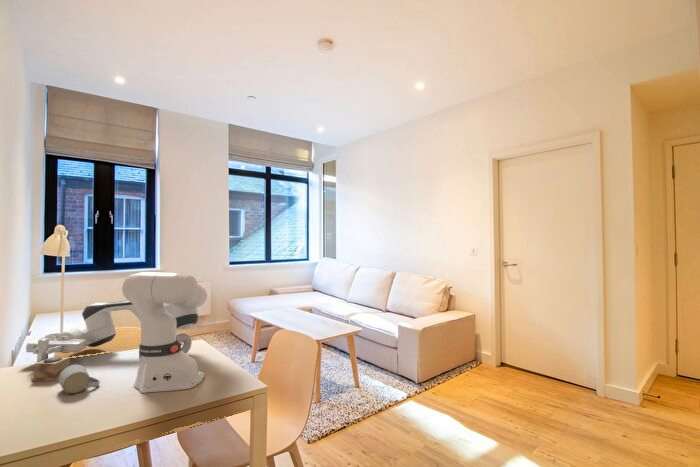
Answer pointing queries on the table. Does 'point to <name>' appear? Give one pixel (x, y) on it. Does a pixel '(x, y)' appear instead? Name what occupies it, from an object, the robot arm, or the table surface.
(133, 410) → the table surface
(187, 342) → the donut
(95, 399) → the table surface
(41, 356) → the brushed metal cylinder
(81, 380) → the ceramic mug
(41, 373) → the walnut stand
